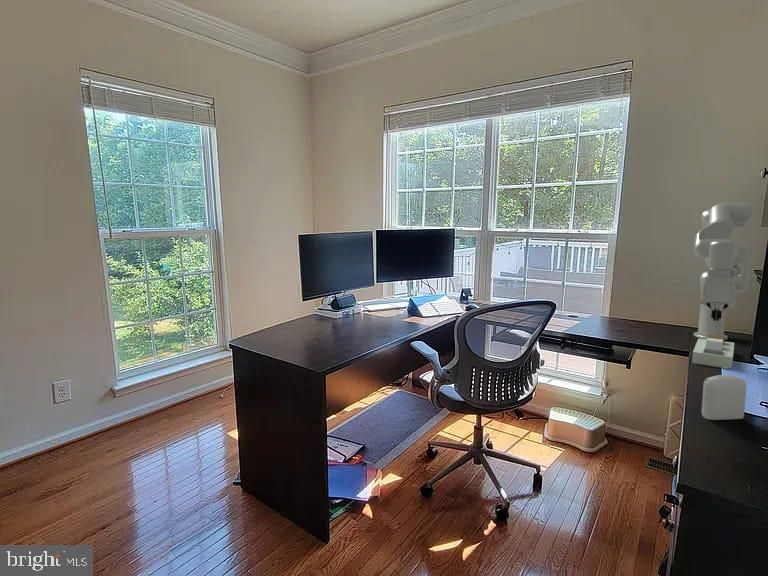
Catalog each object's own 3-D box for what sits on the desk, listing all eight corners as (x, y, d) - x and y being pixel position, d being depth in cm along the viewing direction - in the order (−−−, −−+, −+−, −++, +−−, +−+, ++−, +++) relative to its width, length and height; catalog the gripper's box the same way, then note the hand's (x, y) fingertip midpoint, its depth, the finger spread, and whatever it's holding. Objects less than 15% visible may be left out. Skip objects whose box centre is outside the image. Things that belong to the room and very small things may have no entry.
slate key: (704, 355, 167) (705, 345, 166) (721, 357, 163) (721, 347, 163) (703, 358, 163) (704, 348, 162) (720, 360, 160) (721, 350, 159)
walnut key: (708, 342, 178) (708, 333, 178) (723, 344, 175) (724, 335, 175) (707, 345, 175) (708, 336, 174) (722, 347, 171) (723, 337, 171)
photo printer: (709, 421, 117) (712, 378, 115) (698, 414, 121) (701, 373, 119) (746, 420, 117) (750, 377, 115) (734, 413, 121) (737, 372, 119)
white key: (706, 346, 172) (707, 337, 172) (722, 348, 169) (723, 339, 169) (705, 349, 169) (706, 340, 168) (721, 351, 165) (722, 342, 165)
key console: (697, 348, 182) (698, 338, 182) (733, 353, 175) (734, 342, 174) (692, 363, 164) (692, 351, 164) (731, 369, 157) (732, 357, 156)
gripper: (745, 273, 158) (741, 320, 161) (696, 271, 168) (693, 316, 171) (745, 275, 153) (740, 324, 155) (694, 273, 162) (691, 319, 165)
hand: (715, 320), depth 163 cm, fingers closed
